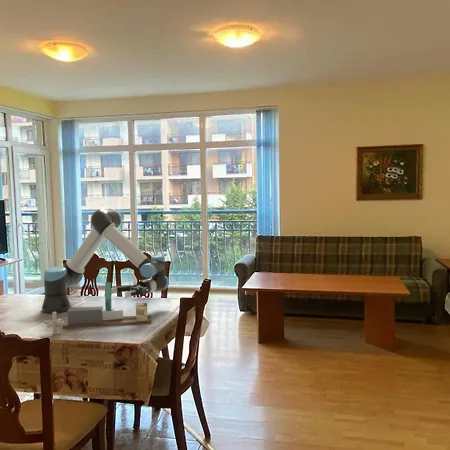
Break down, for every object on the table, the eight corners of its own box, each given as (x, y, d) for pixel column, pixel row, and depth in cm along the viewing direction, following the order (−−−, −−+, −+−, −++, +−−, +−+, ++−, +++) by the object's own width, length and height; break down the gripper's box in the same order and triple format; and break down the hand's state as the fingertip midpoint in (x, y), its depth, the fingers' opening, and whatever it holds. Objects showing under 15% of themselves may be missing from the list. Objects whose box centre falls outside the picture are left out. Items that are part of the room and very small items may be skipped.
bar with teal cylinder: (74, 318, 227) (72, 283, 225) (123, 316, 231) (122, 281, 229) (72, 320, 223) (71, 285, 221) (122, 318, 227) (122, 283, 226)
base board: (67, 321, 230) (67, 319, 230) (151, 317, 237) (151, 314, 237) (62, 328, 218) (62, 325, 218) (151, 323, 225) (151, 321, 225)
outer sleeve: (70, 320, 227) (69, 307, 227) (103, 318, 230) (102, 306, 230) (68, 324, 221) (67, 311, 221) (102, 322, 224) (101, 309, 223)
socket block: (136, 316, 234) (136, 303, 234) (147, 315, 235) (147, 302, 235) (136, 321, 225) (135, 307, 225) (147, 320, 226) (147, 307, 226)
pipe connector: (58, 337, 204) (58, 315, 203) (38, 336, 206) (38, 314, 205) (70, 331, 214) (70, 310, 213) (51, 329, 216) (50, 309, 215)
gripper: (163, 296, 241) (133, 304, 223) (130, 290, 255) (99, 297, 237) (163, 282, 240) (133, 289, 223) (129, 277, 254) (99, 283, 237)
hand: (116, 293), depth 230 cm, fingers open, 13 cm apart
